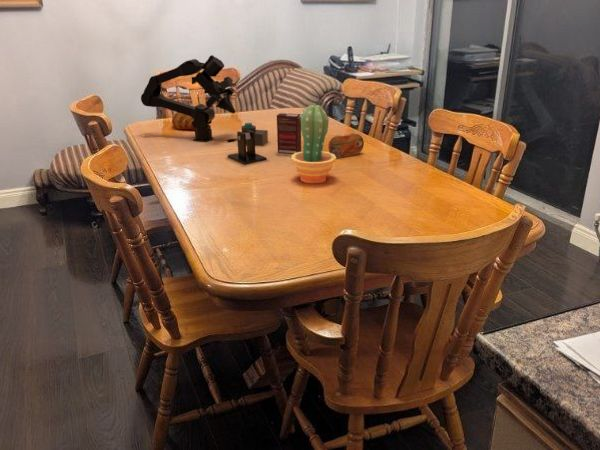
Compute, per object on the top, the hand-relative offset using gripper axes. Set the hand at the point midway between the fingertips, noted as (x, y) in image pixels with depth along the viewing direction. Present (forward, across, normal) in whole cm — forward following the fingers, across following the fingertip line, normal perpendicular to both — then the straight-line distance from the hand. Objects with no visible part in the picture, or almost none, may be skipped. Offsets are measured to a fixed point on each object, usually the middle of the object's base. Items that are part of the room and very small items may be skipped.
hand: (234, 112), depth 221 cm
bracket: (+19, -23, -1) cm, 29 cm away
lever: (+12, -21, -4) cm, 24 cm away
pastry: (-18, +19, +30) cm, 39 cm away
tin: (+44, -8, -26) cm, 51 cm away
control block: (+15, -1, +3) cm, 15 cm away
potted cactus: (+40, -38, -22) cm, 60 cm away
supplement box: (+28, -12, -10) cm, 32 cm away
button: (+8, 0, 0) cm, 8 cm away
